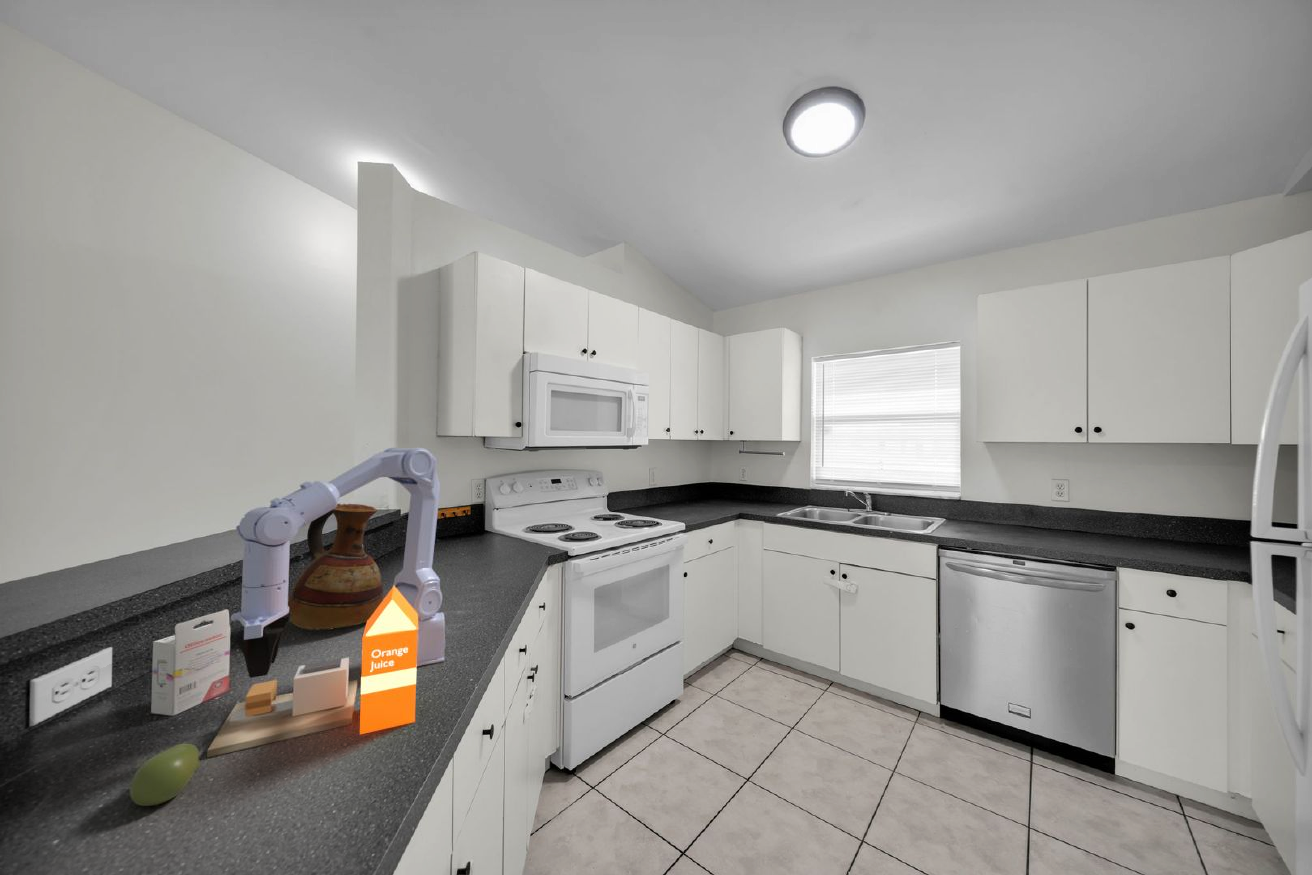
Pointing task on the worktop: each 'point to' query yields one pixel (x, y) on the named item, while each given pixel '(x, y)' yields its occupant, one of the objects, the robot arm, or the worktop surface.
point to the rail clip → (260, 698)
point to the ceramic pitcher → (337, 575)
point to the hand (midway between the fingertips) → (262, 669)
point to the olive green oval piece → (164, 775)
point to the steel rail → (265, 714)
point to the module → (320, 686)
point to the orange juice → (389, 665)
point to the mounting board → (281, 725)
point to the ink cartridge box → (191, 664)
